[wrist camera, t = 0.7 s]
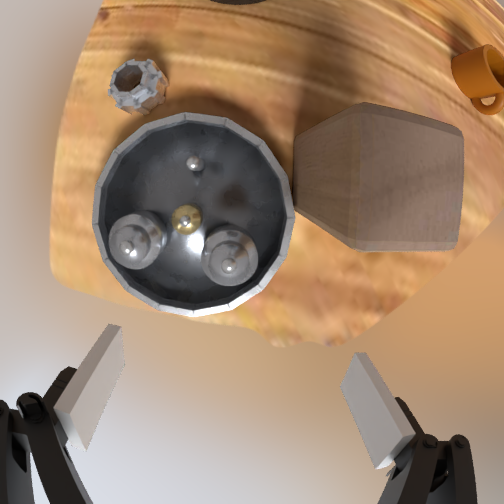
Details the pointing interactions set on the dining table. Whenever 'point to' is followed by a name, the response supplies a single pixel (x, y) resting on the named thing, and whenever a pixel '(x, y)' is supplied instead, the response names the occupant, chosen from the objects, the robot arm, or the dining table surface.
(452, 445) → the robot arm
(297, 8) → the dining table surface
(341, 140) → the wooden block
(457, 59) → the mug
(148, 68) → the gear
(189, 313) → the carrier
